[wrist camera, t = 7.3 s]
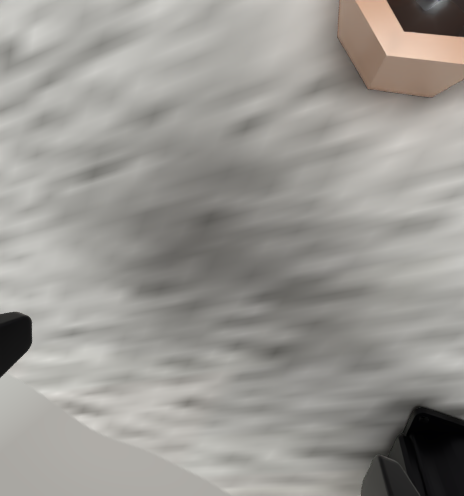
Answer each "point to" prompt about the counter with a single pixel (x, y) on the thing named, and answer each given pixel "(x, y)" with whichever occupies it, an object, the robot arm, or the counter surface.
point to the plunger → (430, 16)
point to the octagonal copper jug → (397, 51)
